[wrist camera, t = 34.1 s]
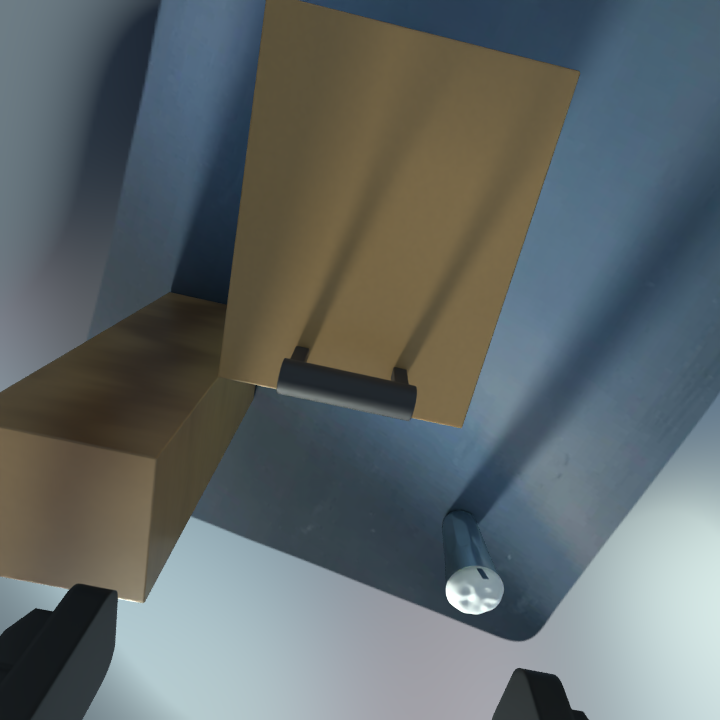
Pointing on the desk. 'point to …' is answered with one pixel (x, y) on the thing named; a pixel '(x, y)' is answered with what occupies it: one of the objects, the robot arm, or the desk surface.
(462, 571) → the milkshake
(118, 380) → the stand
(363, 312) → the lid
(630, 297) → the desk surface
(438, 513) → the desk surface
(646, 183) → the desk surface
